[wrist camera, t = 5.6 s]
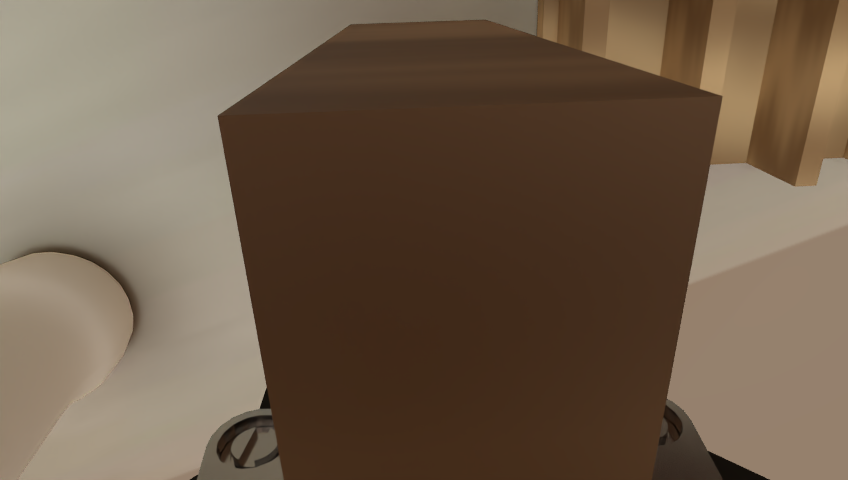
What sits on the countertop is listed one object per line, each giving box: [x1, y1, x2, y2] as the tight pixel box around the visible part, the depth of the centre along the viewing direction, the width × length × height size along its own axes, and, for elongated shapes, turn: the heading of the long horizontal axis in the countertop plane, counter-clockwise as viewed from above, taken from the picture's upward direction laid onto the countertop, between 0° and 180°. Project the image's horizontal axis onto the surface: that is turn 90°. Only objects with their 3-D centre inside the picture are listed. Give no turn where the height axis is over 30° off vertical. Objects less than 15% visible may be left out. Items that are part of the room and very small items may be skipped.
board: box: [218, 20, 723, 480], centre depth 10 cm, size 12×3×10 cm, turn 2°
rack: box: [537, 0, 848, 190], centre depth 25 cm, size 16×18×5 cm
